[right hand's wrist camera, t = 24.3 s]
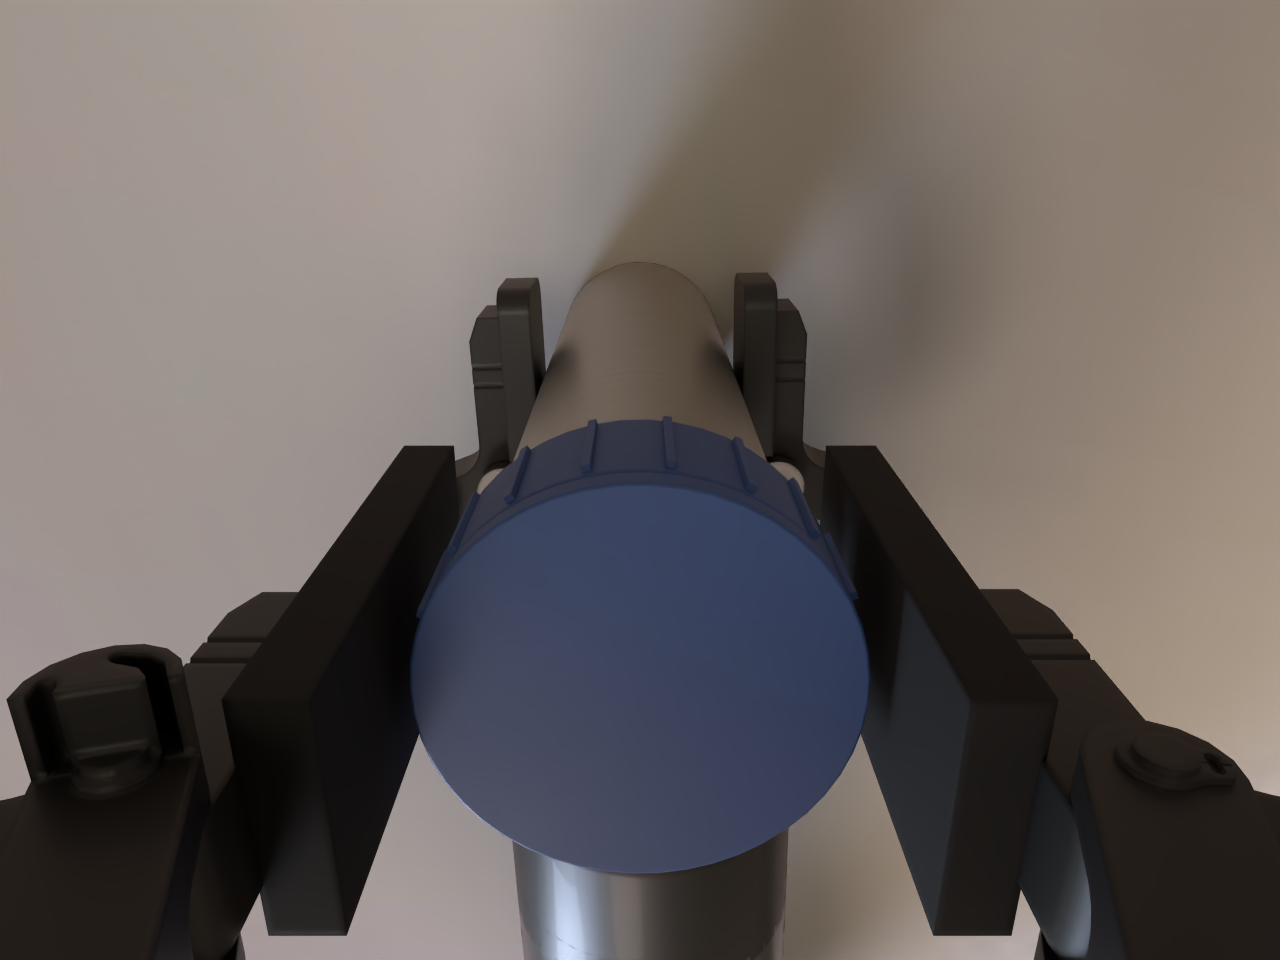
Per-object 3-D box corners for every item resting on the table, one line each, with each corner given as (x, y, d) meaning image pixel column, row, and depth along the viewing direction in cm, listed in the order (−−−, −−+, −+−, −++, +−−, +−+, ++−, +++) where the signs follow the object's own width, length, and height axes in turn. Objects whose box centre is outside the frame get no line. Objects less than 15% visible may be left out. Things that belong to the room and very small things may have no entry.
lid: (917, 609, 12) (972, 706, 10) (628, 821, 14) (626, 945, 12) (654, 324, 11) (657, 371, 9) (360, 592, 12) (304, 687, 10)
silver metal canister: (746, 331, 27) (903, 638, 11) (647, 439, 28) (656, 859, 12) (632, 228, 26) (619, 404, 10) (533, 346, 27) (380, 671, 11)
